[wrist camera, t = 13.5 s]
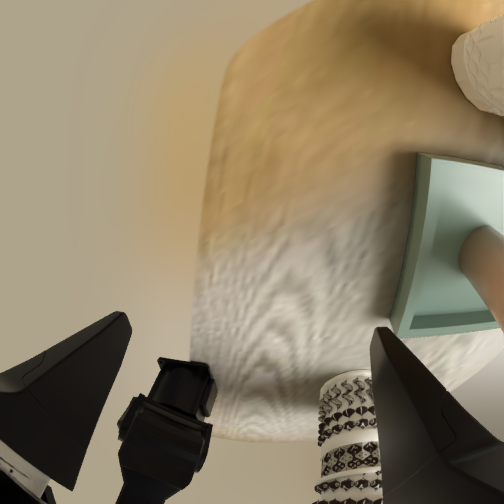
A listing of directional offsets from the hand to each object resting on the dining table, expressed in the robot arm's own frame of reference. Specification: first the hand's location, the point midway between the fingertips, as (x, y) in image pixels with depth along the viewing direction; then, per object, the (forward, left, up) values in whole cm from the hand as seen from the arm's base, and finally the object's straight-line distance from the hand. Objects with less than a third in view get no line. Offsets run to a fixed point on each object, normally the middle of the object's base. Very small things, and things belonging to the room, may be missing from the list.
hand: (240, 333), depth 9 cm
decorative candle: (+9, -22, -13) cm, 27 cm away
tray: (+18, -3, -13) cm, 22 cm away
